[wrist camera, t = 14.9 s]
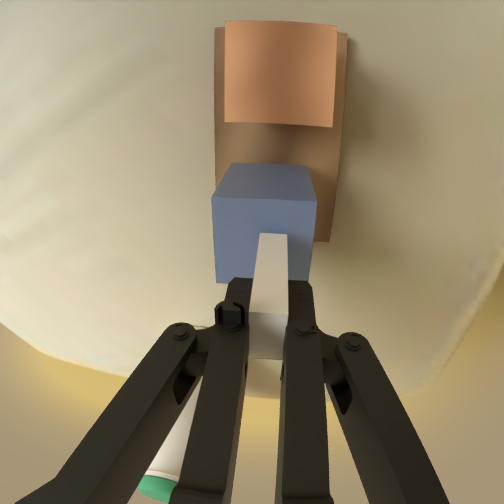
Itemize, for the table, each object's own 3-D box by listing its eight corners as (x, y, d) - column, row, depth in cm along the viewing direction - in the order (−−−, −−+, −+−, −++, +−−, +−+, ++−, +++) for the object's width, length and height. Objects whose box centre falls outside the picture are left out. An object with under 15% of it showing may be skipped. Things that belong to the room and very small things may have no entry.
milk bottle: (211, 316, 35) (167, 487, 18) (243, 358, 38) (220, 511, 21) (159, 332, 37) (103, 478, 20) (192, 370, 40) (157, 505, 23)
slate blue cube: (232, 229, 27) (216, 282, 20) (231, 162, 24) (211, 197, 17) (301, 232, 26) (307, 287, 20) (306, 165, 24) (317, 201, 17)
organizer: (219, 230, 29) (196, 289, 22) (217, 29, 20) (185, 5, 12) (327, 236, 29) (342, 298, 21) (344, 35, 20) (377, 14, 12)
